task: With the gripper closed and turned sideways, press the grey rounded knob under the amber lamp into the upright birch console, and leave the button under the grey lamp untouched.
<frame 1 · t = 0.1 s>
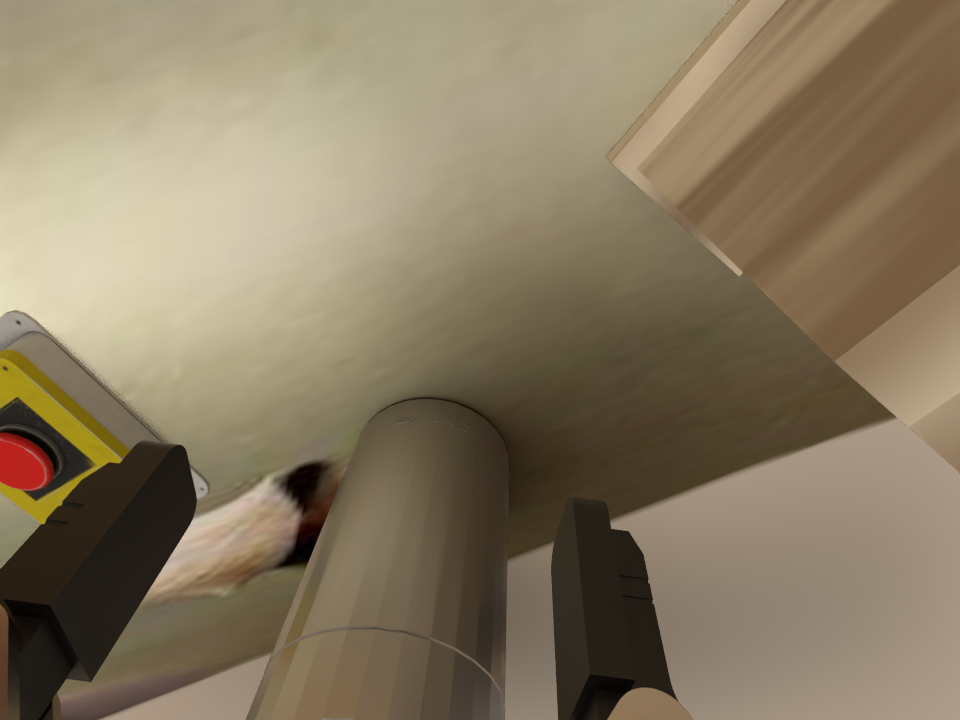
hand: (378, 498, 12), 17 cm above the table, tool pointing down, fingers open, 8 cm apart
emergency button: (84, 429, 35), on the table
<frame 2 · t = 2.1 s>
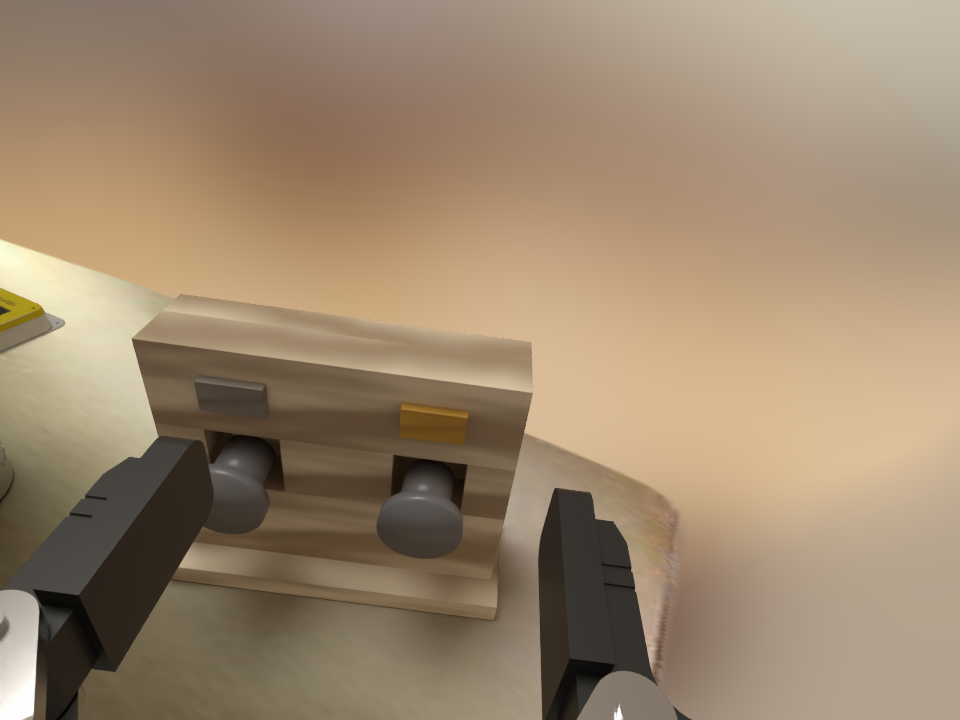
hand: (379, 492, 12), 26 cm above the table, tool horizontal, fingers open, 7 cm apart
birch console: (347, 549, 41), on the table
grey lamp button: (236, 477, 32), point 10 cm above the table, slide at 0.0 cm
grey rounded knob: (424, 502, 32), point 10 cm above the table, slide at 0.0 cm
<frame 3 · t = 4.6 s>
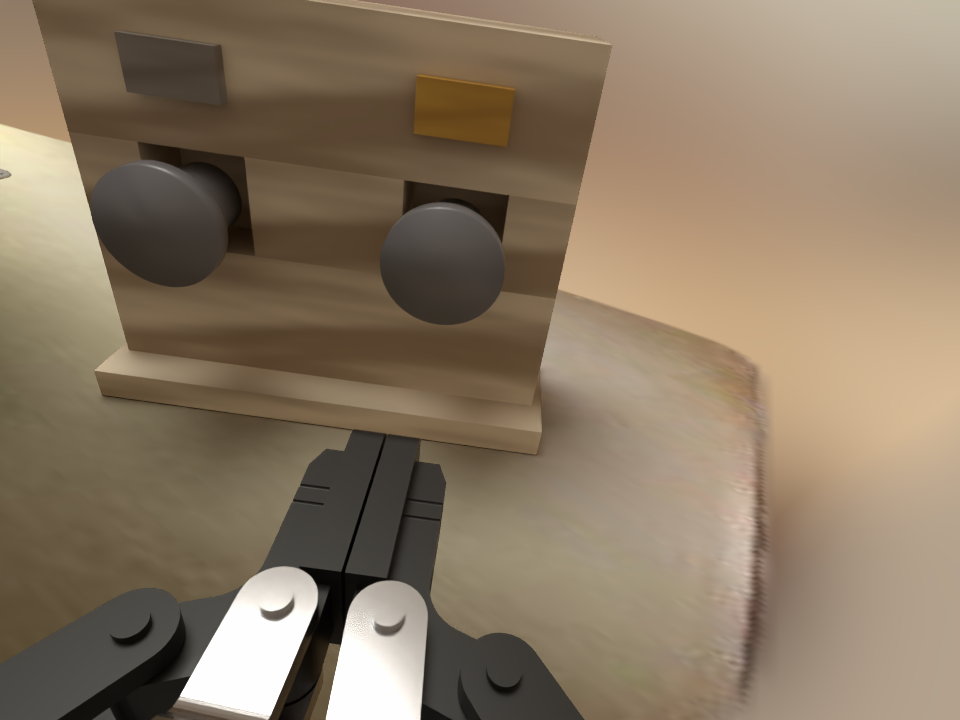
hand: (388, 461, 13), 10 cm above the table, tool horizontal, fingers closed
birch console: (342, 378, 31), on the table
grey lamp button: (183, 212, 23), point 10 cm above the table, slide at 0.0 cm
grey rounded knob: (448, 249, 23), point 10 cm above the table, slide at 0.0 cm
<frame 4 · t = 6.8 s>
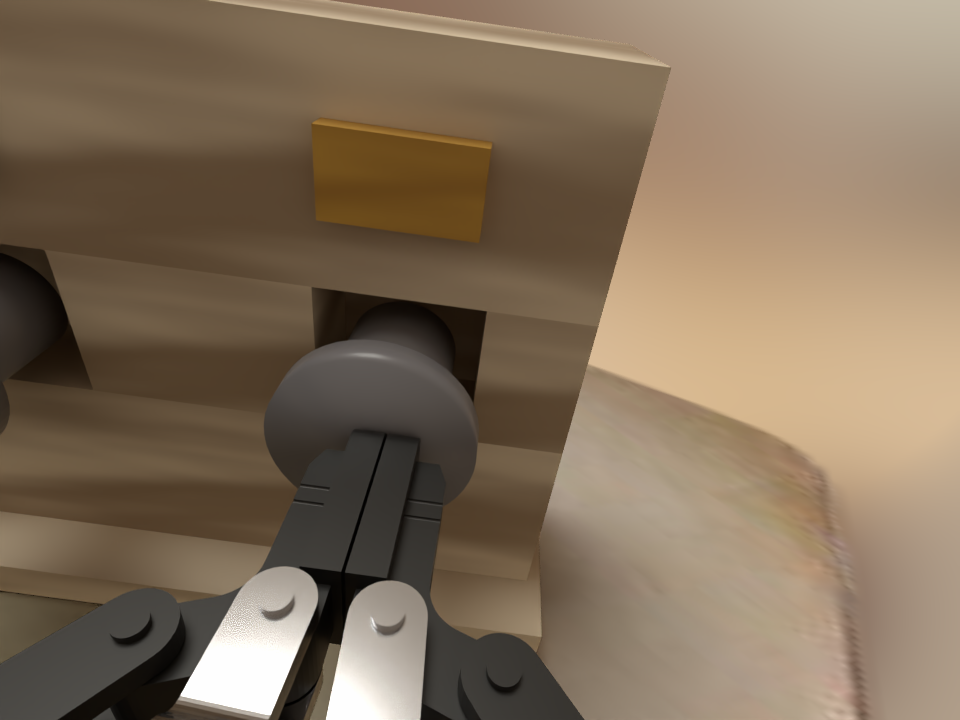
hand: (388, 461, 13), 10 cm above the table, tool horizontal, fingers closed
birch console: (260, 524, 22), on the table
grey rounded knob: (389, 392, 14), point 10 cm above the table, slide at 0.3 cm, touching gripper
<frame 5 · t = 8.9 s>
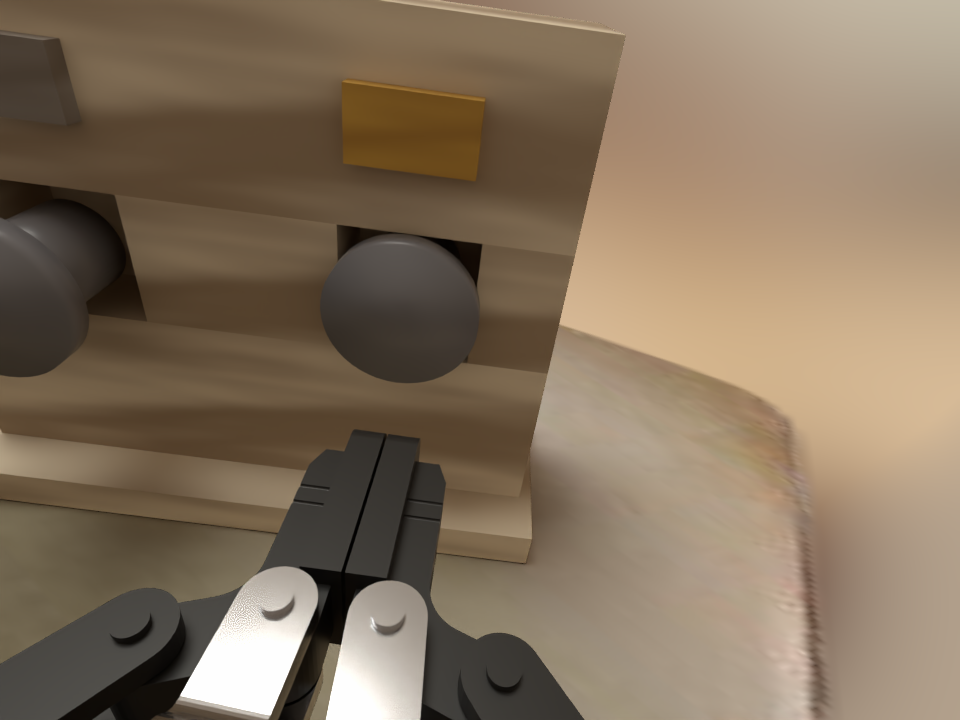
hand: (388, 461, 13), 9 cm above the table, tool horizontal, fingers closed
birch console: (283, 457, 25), on the table
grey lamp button: (33, 271, 17), point 10 cm above the table, slide at 0.0 cm
grey rounded knob: (410, 287, 18), point 10 cm above the table, slide at 2.1 cm
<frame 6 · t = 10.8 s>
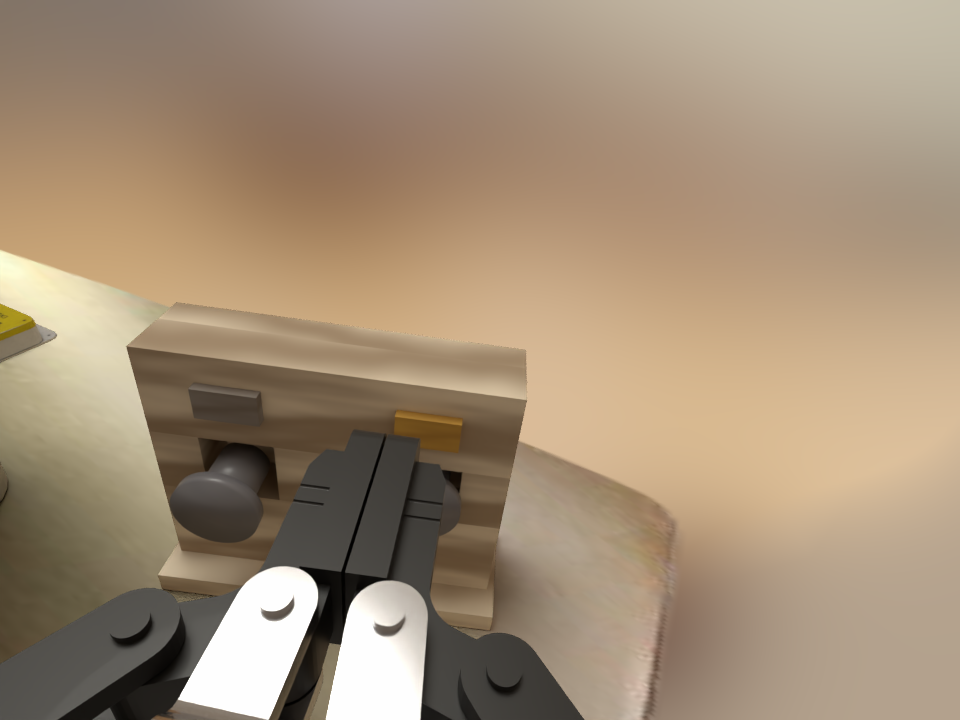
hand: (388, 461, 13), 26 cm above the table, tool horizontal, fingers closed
birch console: (342, 559, 40), on the table
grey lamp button: (230, 485, 32), point 10 cm above the table, slide at 0.0 cm
grey rounded knob: (424, 484, 34), point 10 cm above the table, slide at 2.1 cm
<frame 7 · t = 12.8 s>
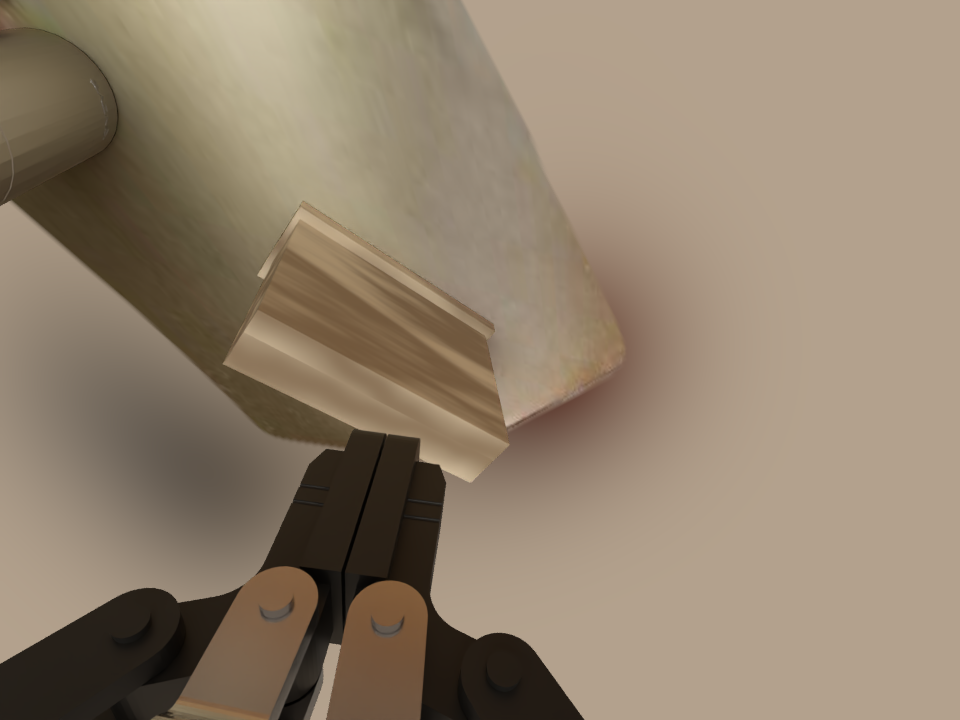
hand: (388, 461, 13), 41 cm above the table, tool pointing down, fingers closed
birch console: (383, 297, 55), on the table
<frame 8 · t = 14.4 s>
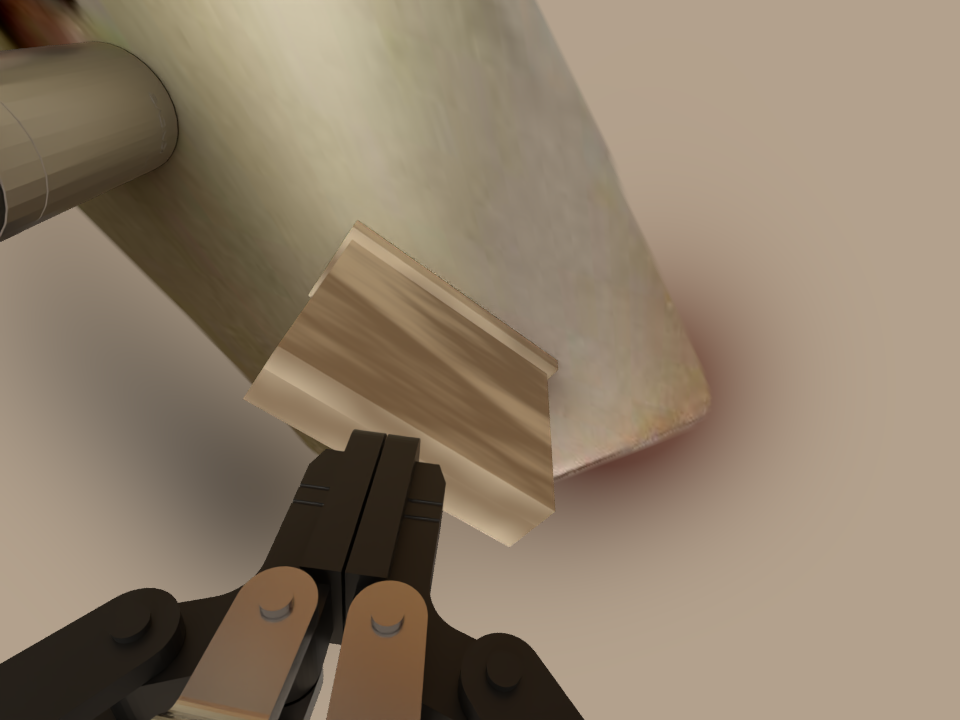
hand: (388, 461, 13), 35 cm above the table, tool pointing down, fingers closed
birch console: (438, 325, 51), on the table
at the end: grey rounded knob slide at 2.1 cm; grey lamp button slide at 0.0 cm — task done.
